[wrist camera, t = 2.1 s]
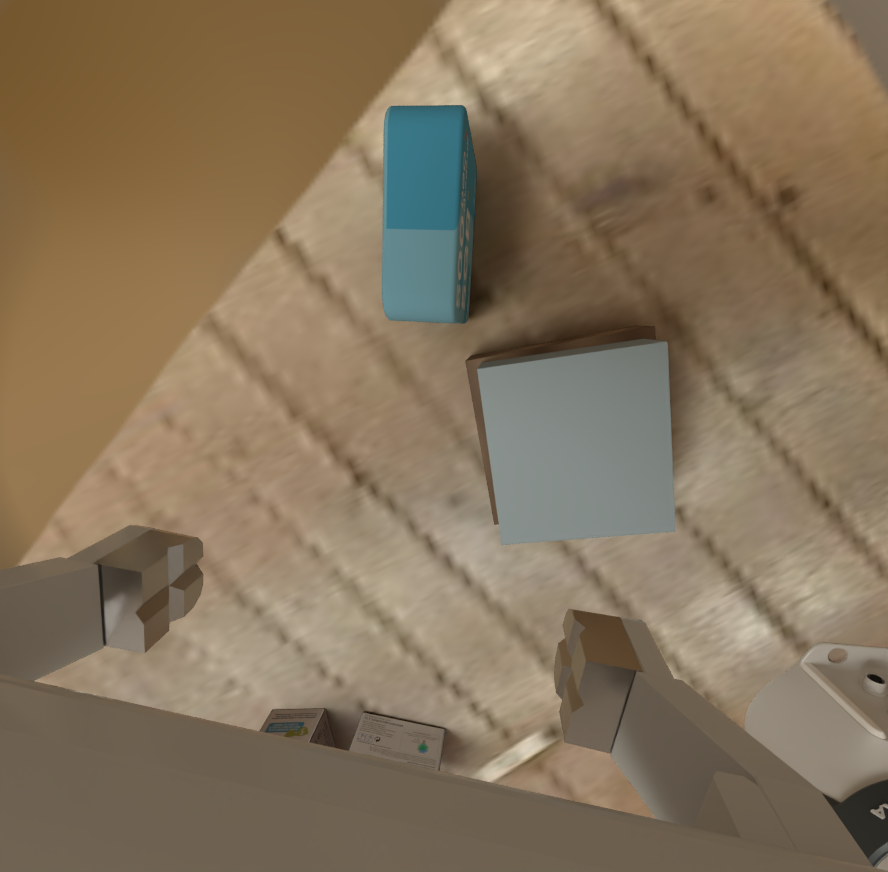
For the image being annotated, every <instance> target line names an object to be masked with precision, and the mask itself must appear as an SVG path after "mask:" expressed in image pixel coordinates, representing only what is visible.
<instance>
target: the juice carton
mask: <svg viewBox="0 0 888 872" xmlns="http://www.w3.org/2000/svg"><path fill="white" fill-rule="evenodd" d="M260 732H265V733H269V734H274V735H278V736H283V737H287V738H292V739H296V740H301V741H306V742H310V743H315V744H319V745H324V746H328V747H333V748H336V747H335V743H334V740H333V736H332V732H331V729H330V725H329V721H328V717H327V714H326V710H325V708H321V709H280V710H272V711H271V713H270V714H269V716H268V718H267V719H266V721H265V723H264V724H263V726H262V728H261V729H260Z"/></svg>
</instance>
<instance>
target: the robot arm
mask: <svg viewBox="0 0 888 872" xmlns="http://www.w3.org/2000/svg"><path fill="white" fill-rule="evenodd" d="M202 557H203V543H202V541H201V540H200V539H199V538H197V537H193V536H188V535H183V534H179V533H174V532H169V531H164V530H160V529H155V528H150V527H145V526H139V525H129V526H127V527H125V528H123V529H122V530H120V531H118V532H116V533H114V534H112V535H110V536H108V537H107V538H105V539H103V540H101V541H99V542H97V543H95V544H93V545H92V546H90V547H88V548H86V549H84V550H82V551H80V552H78V553H77V554H75V555H73V556H71V557H69V558H61V557H59V558H54V559H50V560H45V561H41V562H36V563H31V564H27V565H22V566H17V567H13V568H8V569H4V570H0V872H888V648H883V647H872V646H861V645H850V644H839V643H828V642H822V643H817V644H815V645H814V646H812V647H811V648H810V649H809V650H808V651H807V652H806V653H805V654H804V655H803V656H802V658H801V659H800V660H799V661H798V663H797V664H796V665H794V666H793V667H792V668H790V669H789V670H787V671H785V672H784V673H782V674H780V675H779V676H777V677H776V678H774V679H773V680H772V681H770V682H769V683H768V684H767V685H765V686H764V687H763V688H762V689H761V690H760V691H759V692H758V694H757V695H756V696H755V697H754V699H753V700H752V702H751V704H750V706H749V708H748V710H747V714H746V718H745V730H744V729H742V728H741V727H740V726H739V725H737V724H736V723H735V722H734V721H732V720H731V719H730V718H729V717H727V716H726V715H725V714H724V713H722V712H721V711H720V710H719V709H717V708H716V707H715V706H714V705H712V704H711V703H710V702H709V701H707V700H706V699H705V698H704V697H702V696H701V695H700V694H699V693H697V692H696V691H695V690H694V689H692V688H691V687H690V686H689V685H687V684H686V683H685V682H684V681H682V680H677V679H674V677H673V675H672V674H671V672H670V670H669V668H668V666H667V664H666V662H665V660H664V658H663V656H662V654H661V652H660V650H659V649H658V647H657V645H656V643H655V641H654V639H653V637H652V635H651V633H650V631H649V629H648V627H647V625H646V624H645V623H644V622H643V621H642V620H636V619H630V618H623V617H615V616H609V615H603V614H597V613H591V612H585V611H579V610H573V609H568V610H567V612H566V615H565V618H564V622H563V630H564V634H565V639H563V640H562V641H561V642H560V643H558V647H557V652H556V656H555V666H554V682H555V689H556V693H557V694H558V696H559V697H560V698H561V699H562V702H561V707H560V711H559V713H560V719H561V725H562V730H563V736H564V742H565V743H569V744H573V745H577V746H582V747H586V748H590V749H594V750H598V751H602V752H606V753H610V754H611V757H612V758H613V760H614V761H615V763H616V764H617V765H618V767H619V768H620V769H621V771H622V772H623V774H624V775H625V776H626V778H627V779H628V781H629V782H630V783H631V785H632V786H633V787H634V789H635V790H636V792H637V793H638V794H639V796H640V797H641V798H642V800H643V801H644V803H645V804H646V805H647V807H648V808H649V809H650V811H651V812H652V814H653V815H654V816H655V818H656V819H653V818H649V817H644V816H639V815H635V814H630V813H626V812H621V811H617V810H612V809H608V808H603V807H599V806H594V805H589V804H585V803H580V802H575V801H571V800H566V799H562V798H557V797H553V796H548V795H544V794H539V793H535V792H530V791H526V790H521V789H517V788H512V787H508V786H504V785H499V784H495V783H490V782H486V781H481V780H477V779H472V778H468V777H463V776H459V775H454V774H450V773H445V772H441V771H436V770H432V769H427V768H423V767H418V766H414V765H409V764H405V763H400V762H396V761H391V760H387V759H382V758H378V757H373V756H369V755H364V754H360V753H355V752H351V751H346V750H342V749H337V748H333V747H328V746H324V745H319V744H315V743H310V742H306V741H301V740H296V739H292V738H287V737H283V736H278V735H274V734H269V733H265V732H260V731H255V730H251V729H246V728H242V727H237V726H233V725H228V724H224V723H219V722H215V721H210V720H206V719H201V718H197V717H192V716H188V715H183V714H179V713H174V712H170V711H165V710H161V709H156V708H152V707H147V706H143V705H138V704H134V703H129V702H125V701H120V700H116V699H111V698H107V697H102V696H98V695H93V694H89V693H84V692H80V691H75V690H71V689H66V688H62V687H57V686H53V685H48V684H44V683H39V682H35V680H37V679H39V678H41V677H43V676H45V675H48V674H50V673H52V672H54V671H56V670H58V669H60V668H62V667H64V666H67V665H69V664H71V663H73V662H75V661H77V660H79V659H81V658H83V657H86V656H88V655H90V654H92V653H94V652H96V651H98V650H100V649H103V648H104V646H108V647H113V648H119V649H124V650H130V651H135V652H141V653H145V652H147V651H148V650H149V649H150V648H151V647H152V646H153V645H154V644H155V643H156V642H157V641H158V640H160V639H161V638H162V637H163V636H164V635H165V634H166V633H167V632H168V631H169V624H170V622H172V621H174V620H177V619H179V618H182V617H184V616H185V615H186V614H187V613H188V612H189V611H190V610H191V609H192V608H193V607H194V606H195V604H196V602H197V600H198V598H199V597H200V595H201V591H202V587H203V573H202V571H201V570H200V568H199V566H198V565H197V563H198V562H199V561H200V559H201V558H202ZM835 648H842V649H845V650H846V653H847V654H846V657H845V658H844V659H843V660H842V661H839V662H832V661H830V660H829V659H828V654H829V652H830V651H831V650H833V649H835Z"/></svg>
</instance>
